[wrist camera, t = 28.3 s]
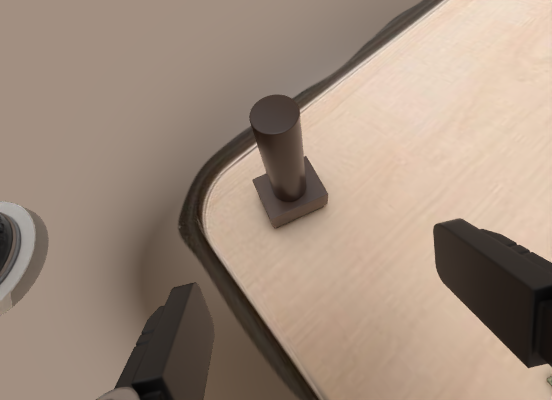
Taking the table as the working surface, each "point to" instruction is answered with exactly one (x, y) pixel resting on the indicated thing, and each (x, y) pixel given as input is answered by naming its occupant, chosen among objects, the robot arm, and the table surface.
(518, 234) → the table surface
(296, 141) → the brown peg on base
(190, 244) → the table surface
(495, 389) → the table surface
